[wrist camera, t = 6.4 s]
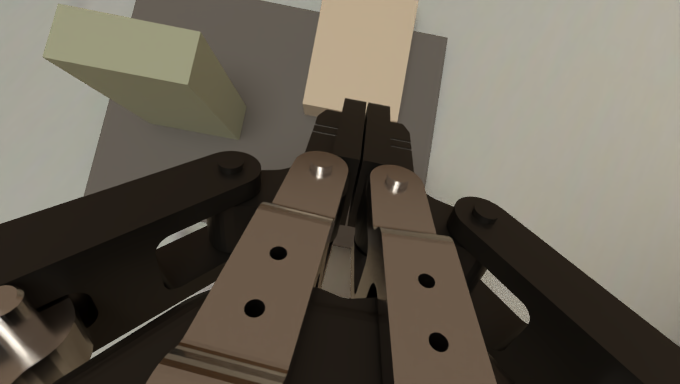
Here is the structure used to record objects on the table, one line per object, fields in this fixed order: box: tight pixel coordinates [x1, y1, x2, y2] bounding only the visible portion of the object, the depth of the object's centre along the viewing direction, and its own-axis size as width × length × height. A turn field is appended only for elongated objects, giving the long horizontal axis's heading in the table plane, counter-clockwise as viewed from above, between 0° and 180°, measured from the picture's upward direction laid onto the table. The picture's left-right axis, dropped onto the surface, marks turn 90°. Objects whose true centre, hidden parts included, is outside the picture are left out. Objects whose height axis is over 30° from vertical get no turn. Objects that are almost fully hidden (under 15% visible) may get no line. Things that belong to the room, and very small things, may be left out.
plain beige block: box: [303, 0, 418, 123], centre depth 23 cm, size 6×3×9 cm
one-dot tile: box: [43, 4, 247, 140], centre depth 19 cm, size 6×3×9 cm, turn 80°
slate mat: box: [84, 0, 448, 248], centre depth 24 cm, size 22×16×1 cm
